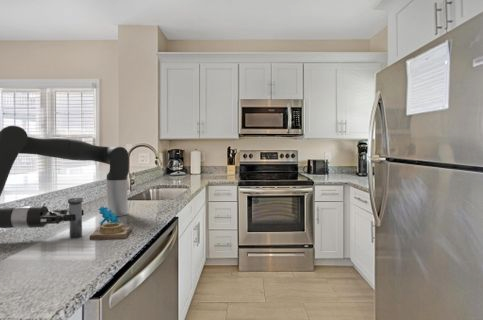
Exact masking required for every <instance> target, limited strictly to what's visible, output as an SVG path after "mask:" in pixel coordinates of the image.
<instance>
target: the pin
mask: <svg viewBox="0 0 483 320" xmlns="http://www.w3.org/2000/svg"><path fill="white" fill-rule="evenodd" d="M83 199H84V198H83V197H71V198H68V199H67V204H68V206H69V207H68V209H69V212H68V214H69V215H70V214H75V215H76V220H75V221H68V222H69V239H73V240H74V239H80V238H82V237H83V216H82V210H83V208H82V207H83V206H82V205H83V204H82V203H83V202H84V200H83Z"/></svg>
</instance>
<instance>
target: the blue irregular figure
mask: <svg viewBox="0 0 483 320" xmlns="http://www.w3.org/2000/svg"><path fill="white" fill-rule="evenodd" d="M107 209H108V208H107V206H105V207H104V206H101V207H99V209H98V211H99V214H100V215H101V217H102V218H103V219H102V220H101V221H100V222H99V224H100V225H103V224H105V223H106V222H107V223H120V220H119V216H116V213H115V212H114V213H111V212H112V211H111V210H109V211H108V210H107Z"/></svg>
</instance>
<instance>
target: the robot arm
mask: <svg viewBox="0 0 483 320" xmlns="http://www.w3.org/2000/svg"><path fill="white" fill-rule="evenodd" d="M19 154H24V155H37V156H44V157H49V158H57V159H62V160H68V161H69V160H70V161H79V162H80V161H82V162H84V161H89V162H90V161H91V162H92V161H93V162H98V163H102V164H105V165H106V164H107V165H109V171H108V172H107V174H106V208H108V209H107V210H108V211H109V210H111V211H112V212H111V213H114V212H115V213H116V217H122V216H126V215H128V175H129V170H130V157H129V152H128V150H127V149H126V148H125V147H122V146H101V145H94V144H92V143H88V142H86V141H83V140H80V139H79V140H78V139H75V138H69V137H61V136H59V137H57V136H55V137H37V136H36V137H35V136H29V135H28V133H27V132H26V130H25V129H24V128H22V127H21V126H19V125H14V124H13V125H7V126H5V127H3V128H2V129H1V130H0V197H1V196H2V193H3V191H4V188H5V186H6V183H7V181H8V178H9V176H10V173H11V170H12V168H13V166H14V163H15V161H16V159H17V158H18V155H19ZM84 211H85V210H84V209H82V217H83V216H84V215H85V214H84V213H85V212H84ZM75 220H76V215H75V214H70V215H69V208H56V209H51V210H50V211H49V209H48V206H46V205H31V206H29V205H26V206H19V207H17V206H16V207H0V229H14V228H17V229H18V228H19V229H30V228H44V227H46V226H47V225H49V224H51V225H53V224H56V225H57V224H58V225H59V224H60V223H64V222H69V221H75Z"/></svg>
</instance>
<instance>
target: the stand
mask: <svg viewBox="0 0 483 320" xmlns="http://www.w3.org/2000/svg"><path fill="white" fill-rule="evenodd" d="M123 225H124V224H123V223H121V222H118V223H111V222H107V223H103V224H100V225H99V227H97V228H96V229H95V230H94V231H93V232H92V233H90V235H89V240H90V241H95V240H112V239H114V240H115V239H116V240H117V239H126V238H127V237H128V236H129V233H130V232H131V229H132V226H131V225H124V226H123Z"/></svg>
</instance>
